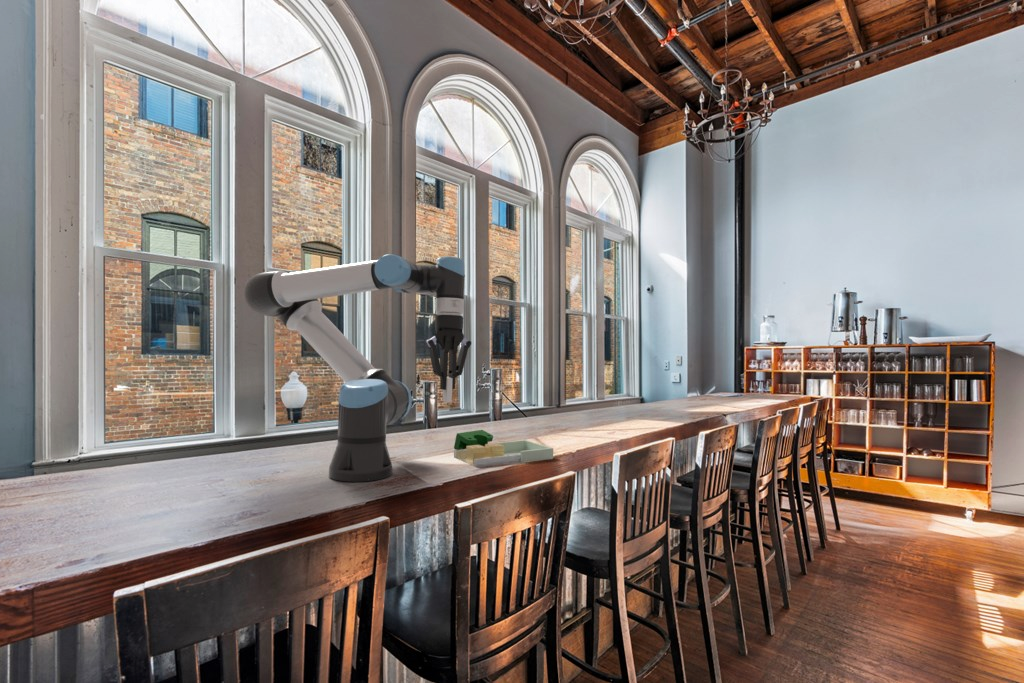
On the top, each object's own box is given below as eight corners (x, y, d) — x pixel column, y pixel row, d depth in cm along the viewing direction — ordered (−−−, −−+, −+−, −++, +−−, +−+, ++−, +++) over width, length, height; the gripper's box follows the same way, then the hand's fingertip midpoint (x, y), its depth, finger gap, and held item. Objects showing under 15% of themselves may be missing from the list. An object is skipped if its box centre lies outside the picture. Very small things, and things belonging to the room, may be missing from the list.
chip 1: (472, 462, 139) (473, 448, 139) (466, 459, 142) (466, 445, 142) (485, 461, 141) (485, 447, 141) (478, 458, 144) (478, 444, 144)
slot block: (476, 470, 134) (476, 459, 134) (453, 459, 145) (454, 450, 145) (520, 464, 142) (520, 454, 142) (495, 455, 153) (496, 446, 153)
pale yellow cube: (491, 460, 142) (492, 446, 142) (484, 458, 145) (485, 444, 145) (503, 459, 144) (504, 445, 144) (496, 456, 148) (496, 443, 148)
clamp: (468, 467, 155) (465, 443, 151) (455, 459, 159) (452, 436, 155) (496, 448, 163) (493, 425, 159) (483, 441, 167) (480, 418, 163)
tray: (521, 465, 141) (521, 451, 141) (495, 455, 153) (495, 442, 153) (553, 461, 147) (553, 448, 147) (525, 452, 159) (525, 439, 159)
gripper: (432, 312, 130) (430, 404, 130) (477, 315, 137) (475, 402, 137) (421, 314, 137) (419, 401, 136) (464, 316, 144) (462, 399, 143)
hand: (447, 401), depth 137 cm, fingers closed
